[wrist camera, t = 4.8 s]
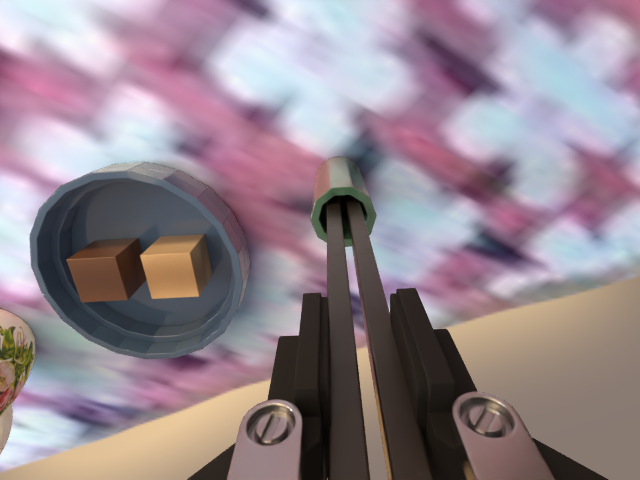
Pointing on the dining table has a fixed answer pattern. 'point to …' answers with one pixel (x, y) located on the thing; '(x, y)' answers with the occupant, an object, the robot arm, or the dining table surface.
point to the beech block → (177, 266)
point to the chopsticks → (387, 373)
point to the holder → (339, 181)
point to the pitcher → (13, 366)
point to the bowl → (147, 225)
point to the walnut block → (108, 270)
